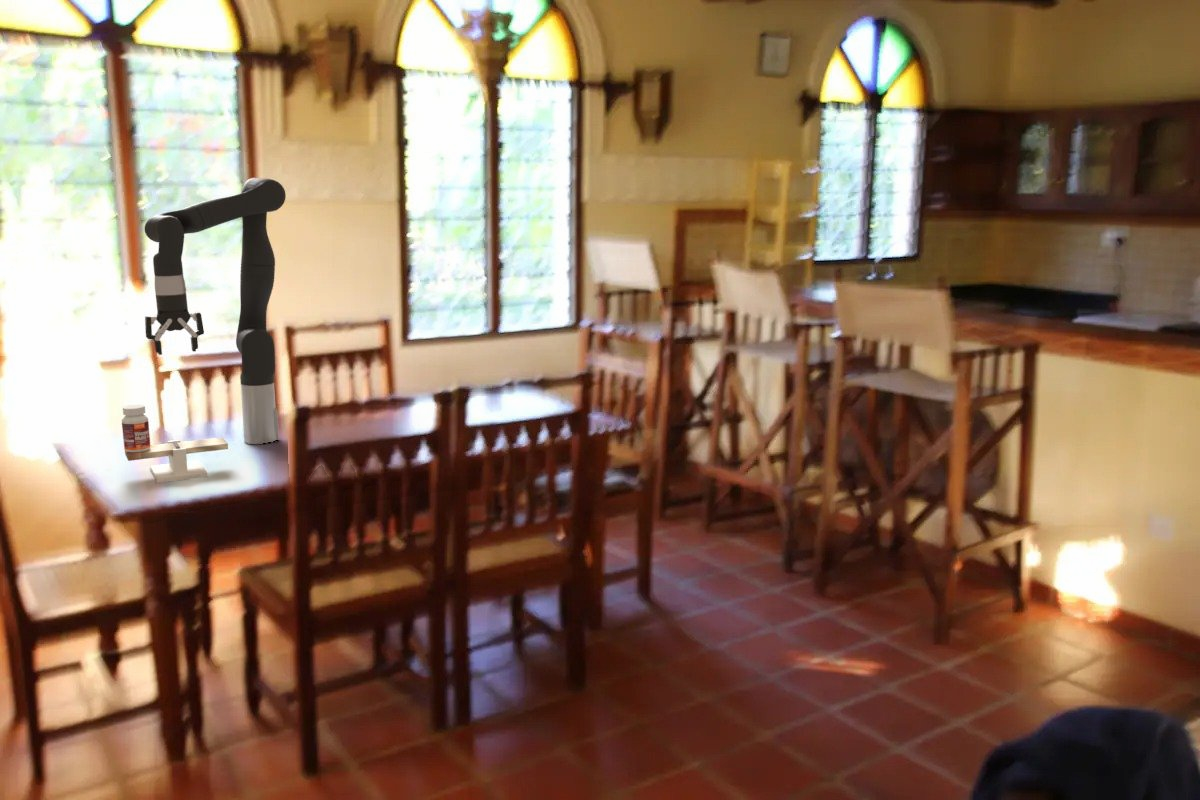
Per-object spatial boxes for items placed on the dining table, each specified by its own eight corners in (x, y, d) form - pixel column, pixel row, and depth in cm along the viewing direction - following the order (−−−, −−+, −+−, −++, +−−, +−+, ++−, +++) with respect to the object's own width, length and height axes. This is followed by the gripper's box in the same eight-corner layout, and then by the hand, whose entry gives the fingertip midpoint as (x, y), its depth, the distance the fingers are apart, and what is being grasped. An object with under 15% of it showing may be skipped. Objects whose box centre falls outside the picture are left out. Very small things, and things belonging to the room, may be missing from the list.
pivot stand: (198, 463, 282) (196, 436, 280) (207, 476, 270) (205, 448, 268) (150, 469, 276) (148, 441, 274) (157, 482, 264) (155, 453, 263)
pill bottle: (139, 454, 263) (135, 409, 261) (119, 452, 265) (114, 408, 263) (156, 448, 269) (152, 405, 267) (136, 446, 271) (132, 403, 268)
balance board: (222, 443, 281) (222, 436, 281) (228, 449, 274) (227, 443, 274) (125, 454, 270) (124, 447, 269) (128, 461, 263) (127, 454, 262)
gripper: (196, 289, 284) (202, 348, 287) (139, 292, 277) (146, 353, 281) (201, 291, 278) (207, 352, 281) (143, 295, 271) (150, 357, 274)
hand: (177, 352), depth 281 cm, fingers open, 8 cm apart
